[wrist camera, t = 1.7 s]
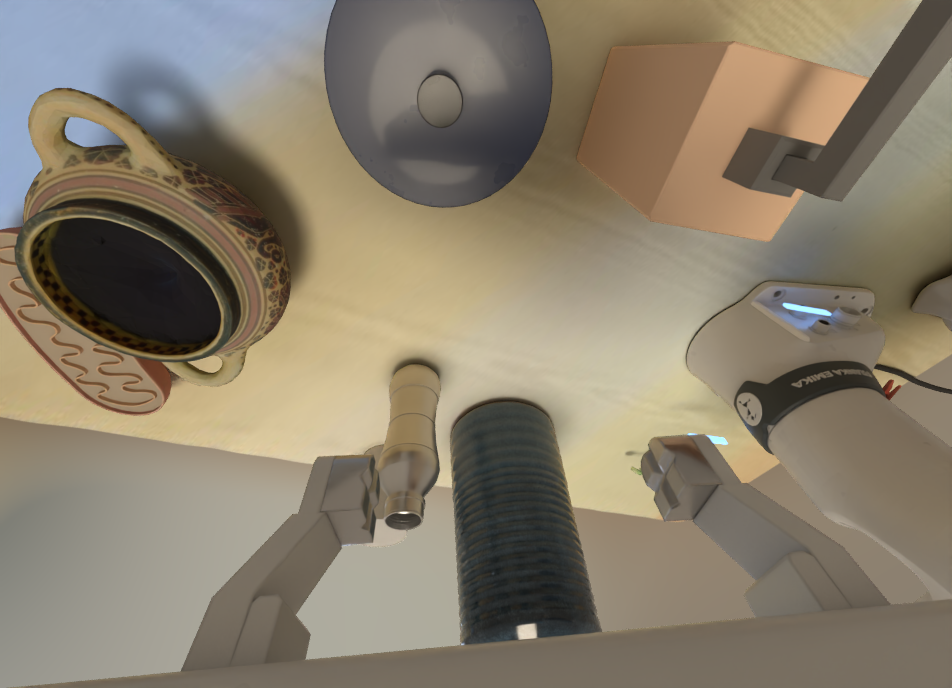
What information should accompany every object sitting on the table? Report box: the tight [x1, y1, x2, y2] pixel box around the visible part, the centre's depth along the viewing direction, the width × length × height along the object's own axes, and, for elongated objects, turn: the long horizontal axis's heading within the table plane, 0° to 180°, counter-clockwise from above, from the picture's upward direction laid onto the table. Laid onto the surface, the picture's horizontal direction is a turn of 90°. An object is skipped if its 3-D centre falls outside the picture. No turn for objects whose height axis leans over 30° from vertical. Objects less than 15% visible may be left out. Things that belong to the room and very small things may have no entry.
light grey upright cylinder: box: [361, 445, 407, 547], centre depth 57 cm, size 8×8×12 cm
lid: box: [324, 0, 552, 208], centre depth 22 cm, size 14×14×6 cm
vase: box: [450, 401, 602, 645], centre depth 47 cm, size 16×16×32 cm
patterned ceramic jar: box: [14, 88, 291, 387], centre depth 32 cm, size 24×18×15 cm
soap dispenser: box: [576, 0, 952, 242], centre depth 23 cm, size 13×9×22 cm
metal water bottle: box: [377, 364, 441, 530], centre depth 43 cm, size 6×7×20 cm
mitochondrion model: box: [0, 227, 171, 416], centre depth 40 cm, size 23×10×5 cm, turn 176°
